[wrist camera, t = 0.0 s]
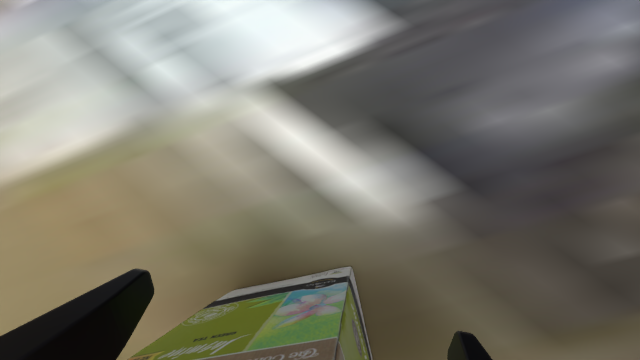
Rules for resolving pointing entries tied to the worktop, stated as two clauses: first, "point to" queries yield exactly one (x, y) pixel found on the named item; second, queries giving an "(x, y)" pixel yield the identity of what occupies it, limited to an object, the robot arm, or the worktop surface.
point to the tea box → (274, 324)
